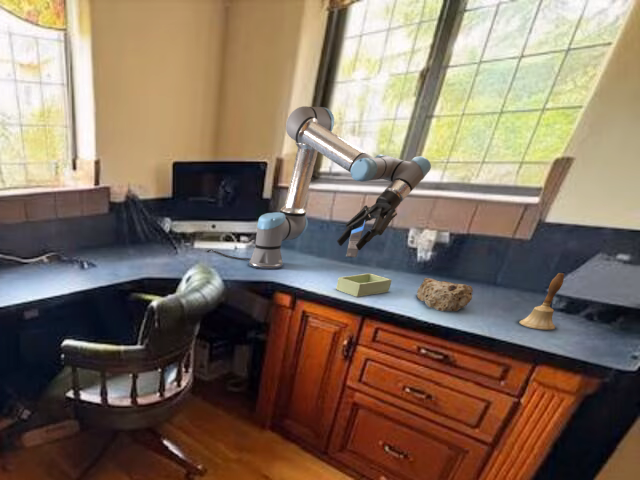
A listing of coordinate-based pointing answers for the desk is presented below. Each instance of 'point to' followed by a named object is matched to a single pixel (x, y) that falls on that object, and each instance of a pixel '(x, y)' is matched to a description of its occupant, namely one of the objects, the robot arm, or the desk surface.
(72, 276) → the desk surface
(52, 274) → the desk surface
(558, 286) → the hand bell
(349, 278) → the dock
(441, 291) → the rock
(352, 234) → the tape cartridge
